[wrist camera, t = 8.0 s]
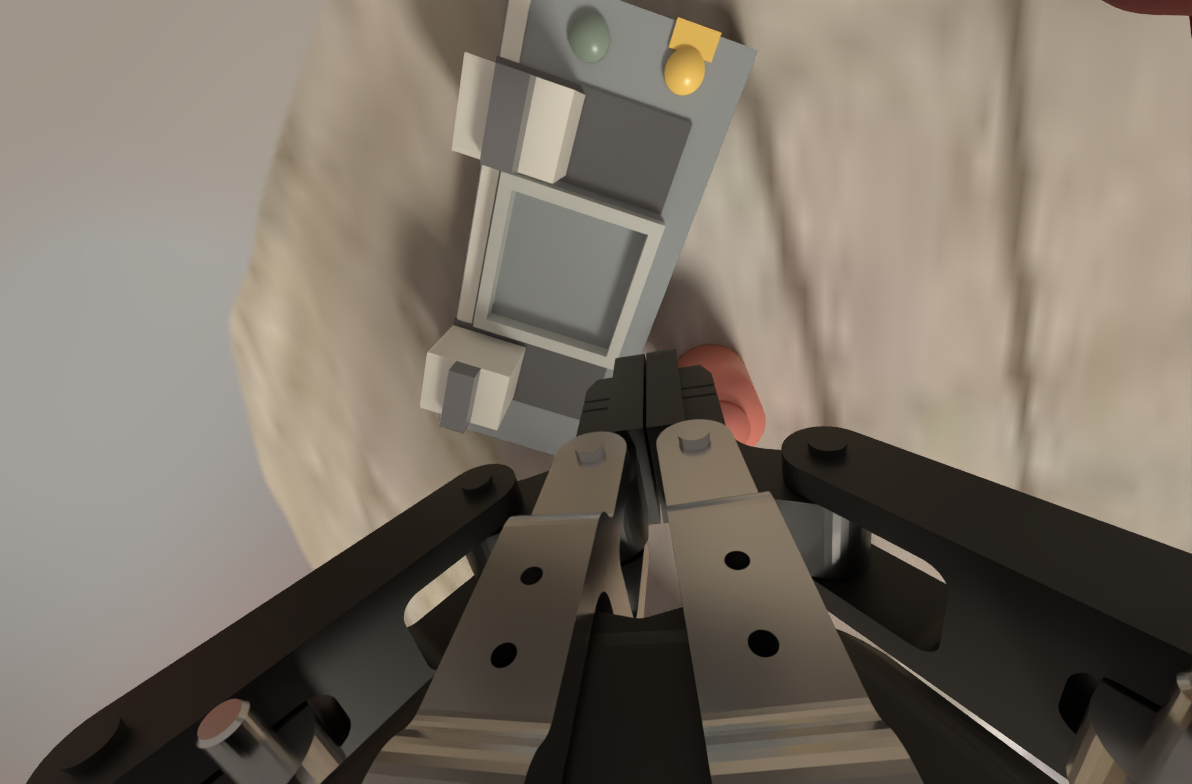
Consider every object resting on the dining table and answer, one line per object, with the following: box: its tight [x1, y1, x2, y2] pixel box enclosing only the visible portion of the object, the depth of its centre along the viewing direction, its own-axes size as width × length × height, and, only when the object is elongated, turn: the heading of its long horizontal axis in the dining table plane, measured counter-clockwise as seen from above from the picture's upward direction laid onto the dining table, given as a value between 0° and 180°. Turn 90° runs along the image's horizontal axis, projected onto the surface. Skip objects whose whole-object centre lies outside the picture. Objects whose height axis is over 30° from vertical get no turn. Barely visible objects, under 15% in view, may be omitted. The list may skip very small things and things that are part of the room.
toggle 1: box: [451, 52, 585, 184], centre depth 19 cm, size 4×3×4 cm
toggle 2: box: [420, 325, 526, 434], centre depth 25 cm, size 4×3×4 cm
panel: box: [439, 0, 758, 456], centre depth 25 cm, size 10×22×3 cm, turn 163°
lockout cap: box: [677, 344, 765, 447], centre depth 26 cm, size 4×4×6 cm
